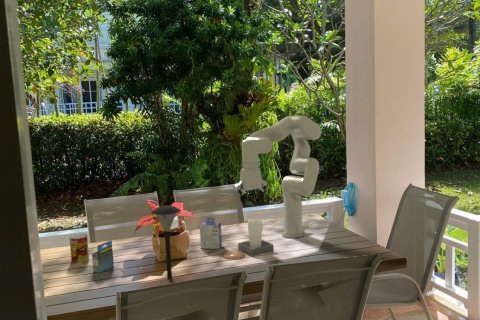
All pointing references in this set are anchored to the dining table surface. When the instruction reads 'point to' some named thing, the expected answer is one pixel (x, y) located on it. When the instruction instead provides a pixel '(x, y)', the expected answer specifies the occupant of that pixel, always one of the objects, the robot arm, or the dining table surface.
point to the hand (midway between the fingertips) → (251, 201)
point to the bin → (264, 248)
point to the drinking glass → (255, 232)
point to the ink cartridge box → (210, 234)
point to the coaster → (234, 255)
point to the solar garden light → (166, 229)
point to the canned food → (79, 248)
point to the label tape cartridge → (103, 257)
